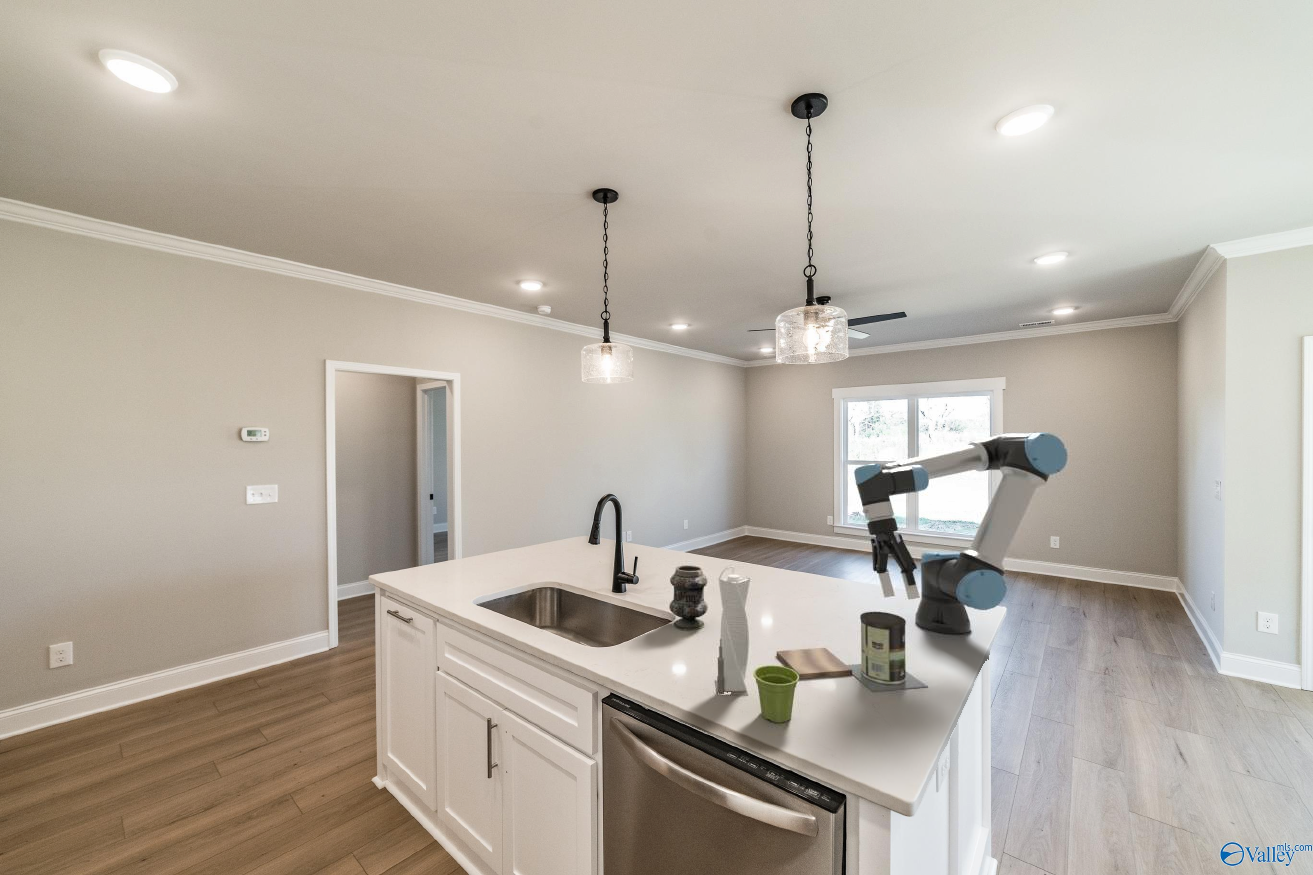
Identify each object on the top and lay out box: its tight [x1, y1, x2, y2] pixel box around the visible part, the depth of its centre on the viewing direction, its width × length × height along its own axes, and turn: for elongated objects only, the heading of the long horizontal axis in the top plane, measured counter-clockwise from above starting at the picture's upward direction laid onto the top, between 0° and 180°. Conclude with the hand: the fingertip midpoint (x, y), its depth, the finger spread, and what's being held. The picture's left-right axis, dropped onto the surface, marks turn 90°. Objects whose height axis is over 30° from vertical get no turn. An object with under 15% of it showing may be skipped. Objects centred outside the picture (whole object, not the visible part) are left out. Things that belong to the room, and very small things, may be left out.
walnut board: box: [776, 647, 853, 680], centre depth 135 cm, size 14×14×1 cm
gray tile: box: [846, 663, 929, 693], centre depth 128 cm, size 14×14×1 cm
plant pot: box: [752, 664, 800, 723], centre depth 110 cm, size 9×9×9 cm
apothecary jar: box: [668, 564, 709, 631], centre depth 164 cm, size 12×12×18 cm
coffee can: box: [859, 611, 907, 685], centre depth 128 cm, size 10×10×14 cm
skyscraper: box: [714, 565, 751, 696], centre depth 123 cm, size 8×8×28 cm
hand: (901, 597), depth 140 cm, fingers open, 13 cm apart
